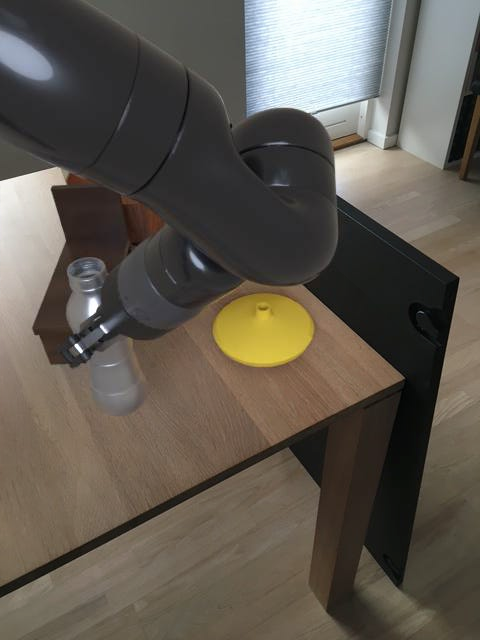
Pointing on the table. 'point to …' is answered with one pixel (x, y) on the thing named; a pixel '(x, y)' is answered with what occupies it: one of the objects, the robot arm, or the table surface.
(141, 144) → the robot arm
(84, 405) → the table surface
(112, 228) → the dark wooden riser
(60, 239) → the table surface
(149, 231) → the bowl
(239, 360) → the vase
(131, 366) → the plastic bottle
